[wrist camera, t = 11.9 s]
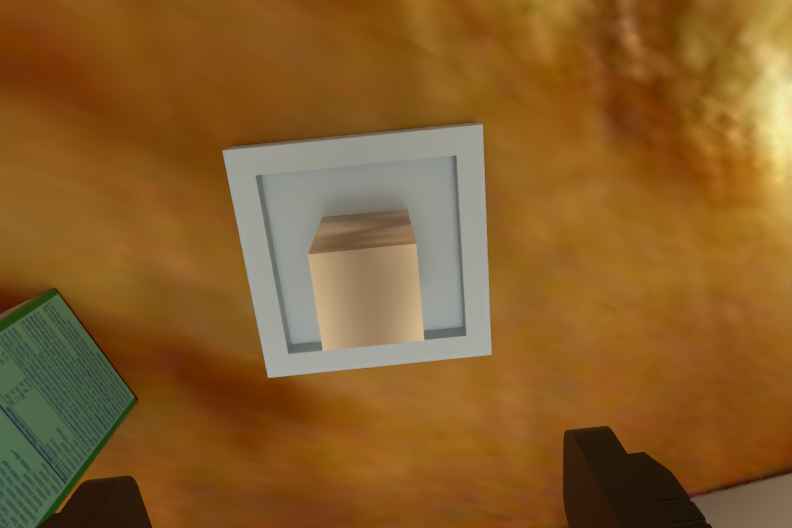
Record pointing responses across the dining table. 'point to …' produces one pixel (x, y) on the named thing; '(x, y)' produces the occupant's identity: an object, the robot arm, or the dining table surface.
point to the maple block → (366, 280)
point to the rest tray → (353, 194)
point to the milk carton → (51, 407)
